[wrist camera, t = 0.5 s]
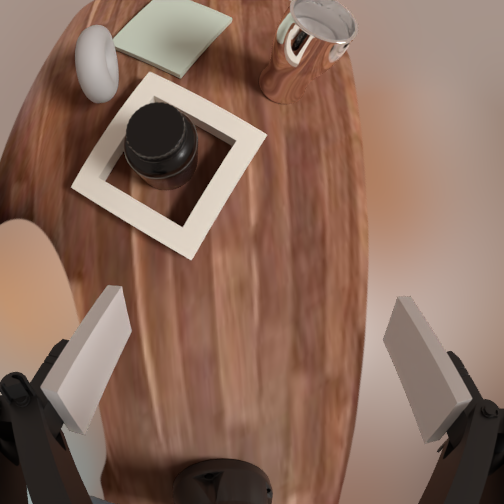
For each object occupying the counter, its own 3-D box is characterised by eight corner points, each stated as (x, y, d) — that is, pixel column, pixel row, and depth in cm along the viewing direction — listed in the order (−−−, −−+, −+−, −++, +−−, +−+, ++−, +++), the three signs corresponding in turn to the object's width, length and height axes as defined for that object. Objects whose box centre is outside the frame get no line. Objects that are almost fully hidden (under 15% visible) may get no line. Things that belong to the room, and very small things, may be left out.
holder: (191, 258, 34) (191, 260, 32) (78, 190, 31) (70, 187, 29) (262, 141, 35) (267, 134, 32) (152, 81, 32) (149, 71, 30)
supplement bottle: (132, 147, 32) (105, 107, 20) (187, 127, 33) (184, 78, 21) (149, 200, 33) (125, 182, 21) (205, 179, 34) (210, 151, 22)
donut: (96, 56, 30) (75, 14, 20) (120, 50, 31) (104, 5, 21) (96, 119, 31) (68, 83, 21) (122, 112, 32) (101, 73, 22)
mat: (180, 78, 33) (180, 75, 32) (109, 47, 31) (108, 43, 30) (231, 22, 33) (232, 18, 32) (163, -5, 31) (163, -9, 30)
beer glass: (316, 83, 36) (370, 23, 21) (289, 117, 35) (341, 57, 21) (274, 54, 35) (311, -18, 20) (244, 86, 34) (272, 12, 19)
